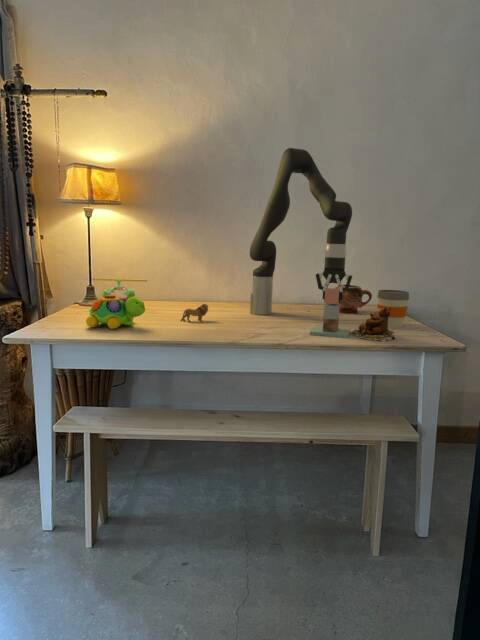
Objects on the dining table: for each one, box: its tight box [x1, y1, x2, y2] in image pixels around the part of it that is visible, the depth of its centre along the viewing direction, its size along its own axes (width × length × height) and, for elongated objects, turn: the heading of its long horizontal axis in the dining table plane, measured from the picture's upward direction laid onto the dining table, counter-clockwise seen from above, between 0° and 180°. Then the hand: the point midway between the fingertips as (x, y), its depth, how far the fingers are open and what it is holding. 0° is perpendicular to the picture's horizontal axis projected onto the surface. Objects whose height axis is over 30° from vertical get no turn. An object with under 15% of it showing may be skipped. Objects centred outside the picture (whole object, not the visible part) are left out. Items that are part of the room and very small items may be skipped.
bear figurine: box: [350, 307, 397, 343], centre depth 181 cm, size 14×15×12 cm
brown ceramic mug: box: [334, 284, 373, 315], centre depth 230 cm, size 20×12×14 cm, turn 95°
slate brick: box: [323, 303, 340, 319], centre depth 185 cm, size 5×7×5 cm
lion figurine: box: [180, 303, 209, 323], centre depth 202 cm, size 12×4×7 cm, turn 111°
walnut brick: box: [322, 316, 340, 332], centre depth 185 cm, size 5×7×5 cm
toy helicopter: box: [91, 278, 148, 300], centre depth 224 cm, size 25×9×15 cm, turn 93°
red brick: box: [323, 287, 339, 304], centre depth 183 cm, size 5×7×5 cm
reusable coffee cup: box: [376, 289, 410, 329], centre depth 201 cm, size 13×12×15 cm
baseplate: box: [309, 325, 351, 339], centre depth 186 cm, size 14×12×1 cm
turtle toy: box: [85, 294, 146, 330], centre depth 189 cm, size 17×23×12 cm
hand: (332, 301), depth 184 cm, fingers closed on red brick, 4 cm apart
